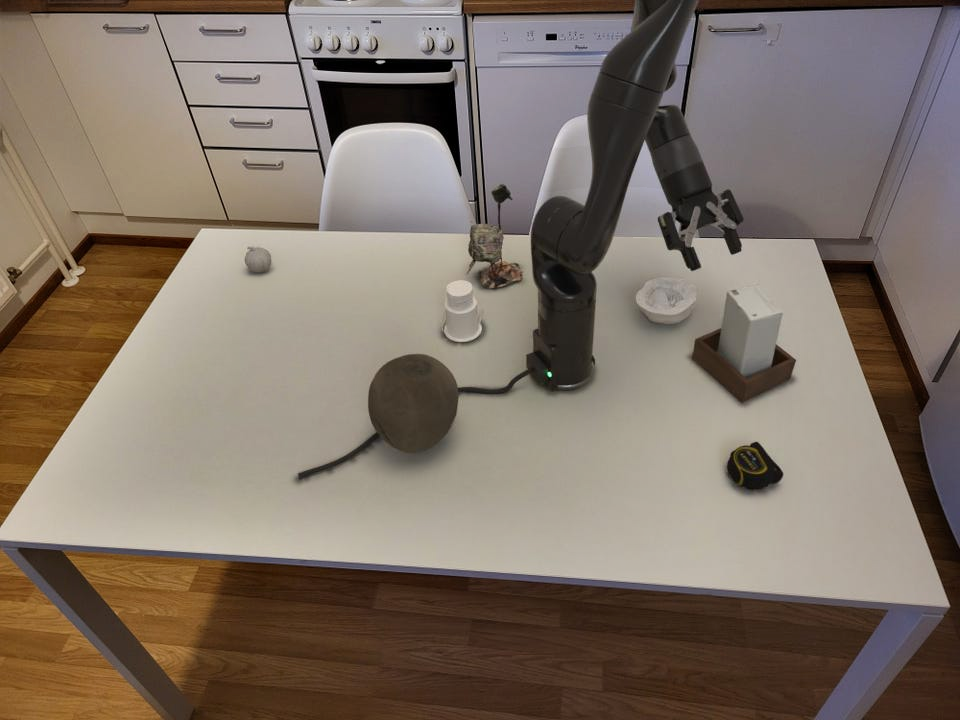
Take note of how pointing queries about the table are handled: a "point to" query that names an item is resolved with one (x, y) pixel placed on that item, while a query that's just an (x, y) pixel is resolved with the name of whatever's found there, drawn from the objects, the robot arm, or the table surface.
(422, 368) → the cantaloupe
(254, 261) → the garlic
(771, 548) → the table surface
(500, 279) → the plant with pod
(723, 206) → the robot arm
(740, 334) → the cosmetic box
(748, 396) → the crate
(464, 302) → the downlight
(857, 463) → the table surface
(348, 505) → the table surface
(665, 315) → the cell model
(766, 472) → the tape measure
